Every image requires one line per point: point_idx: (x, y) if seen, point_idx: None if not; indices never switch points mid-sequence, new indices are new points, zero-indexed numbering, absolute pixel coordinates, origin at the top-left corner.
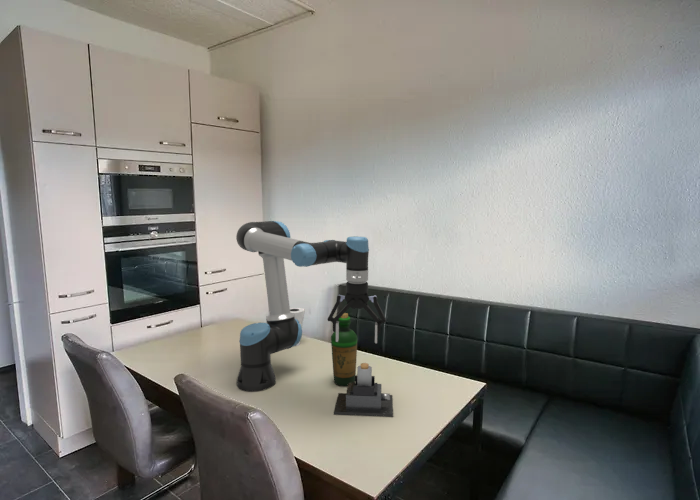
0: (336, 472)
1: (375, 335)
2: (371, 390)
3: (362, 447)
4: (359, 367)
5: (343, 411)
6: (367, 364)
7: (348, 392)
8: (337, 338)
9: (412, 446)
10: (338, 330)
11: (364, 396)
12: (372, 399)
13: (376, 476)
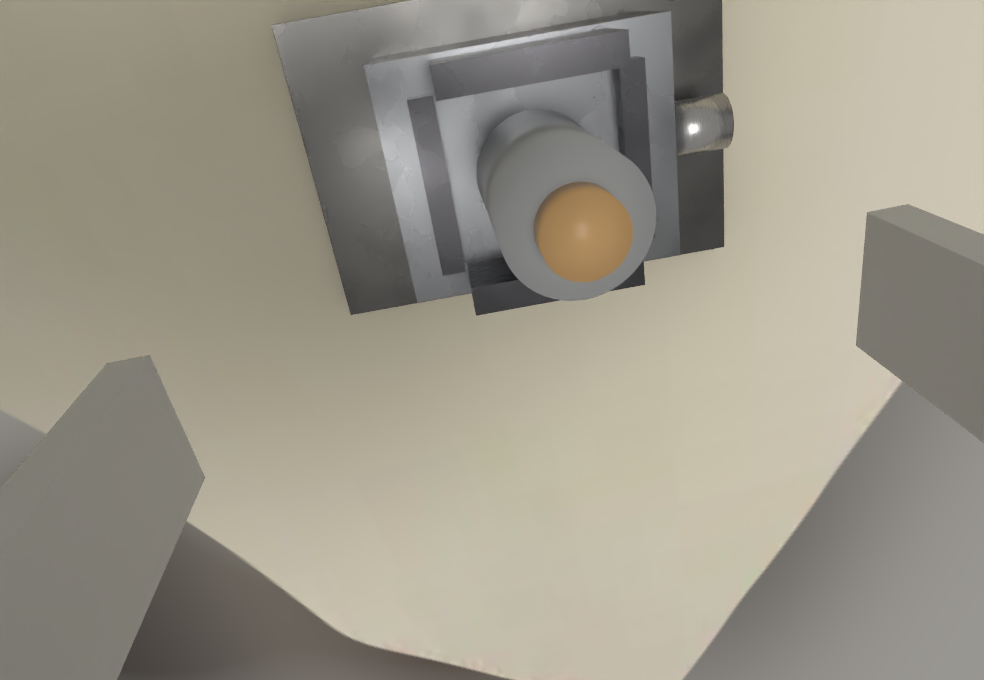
0: (516, 666)
1: (966, 419)
2: None
3: (584, 527)
4: (521, 233)
5: (411, 295)
6: (619, 229)
7: (422, 252)
8: (178, 522)
9: (802, 466)
10: (85, 533)
11: None
12: None
13: (659, 647)
